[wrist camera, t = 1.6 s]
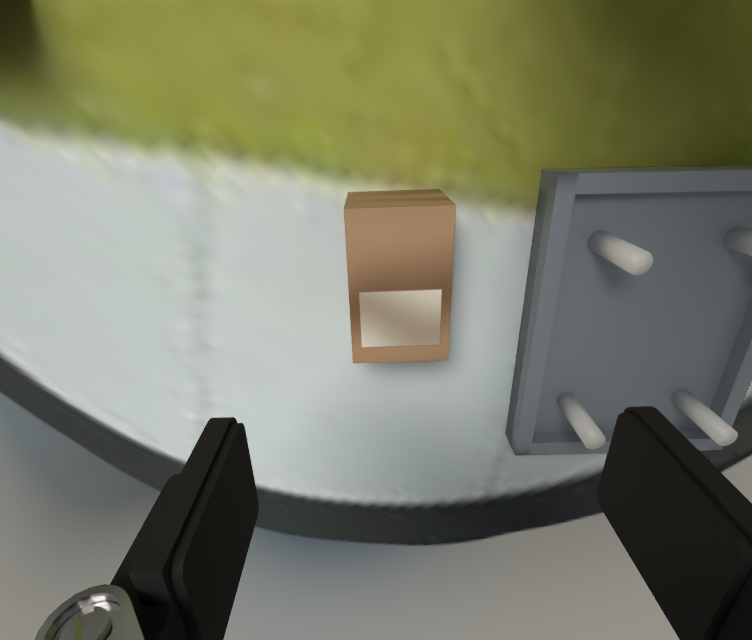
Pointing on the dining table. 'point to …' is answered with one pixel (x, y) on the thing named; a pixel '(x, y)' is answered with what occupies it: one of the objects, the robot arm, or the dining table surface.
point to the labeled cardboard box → (399, 274)
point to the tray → (635, 306)
